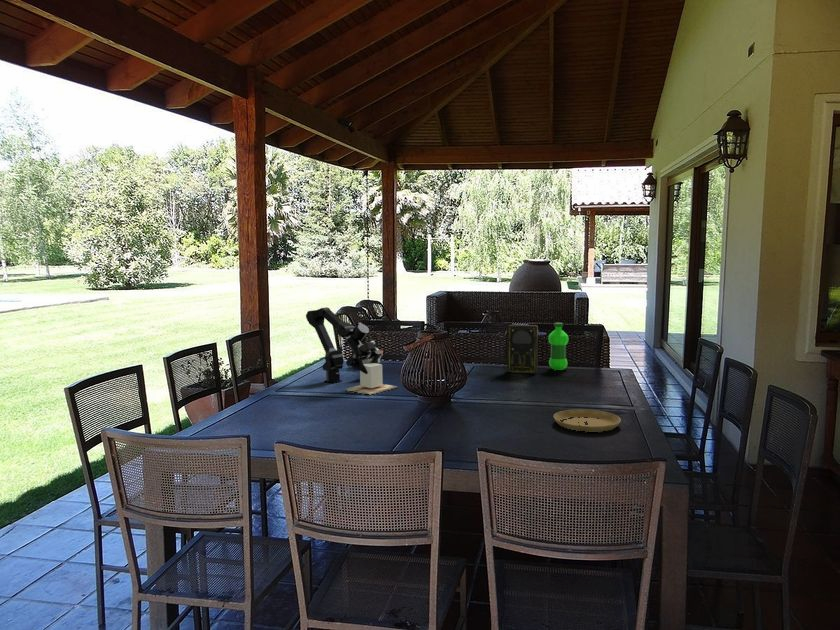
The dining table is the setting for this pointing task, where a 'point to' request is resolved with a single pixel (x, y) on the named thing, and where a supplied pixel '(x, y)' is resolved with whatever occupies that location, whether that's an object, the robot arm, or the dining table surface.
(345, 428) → the dining table surface
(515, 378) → the dining table surface
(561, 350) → the plastic bottle
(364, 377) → the block
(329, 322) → the robot arm
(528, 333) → the voltmeter
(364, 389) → the header board
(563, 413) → the plant saucer
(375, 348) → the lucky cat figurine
